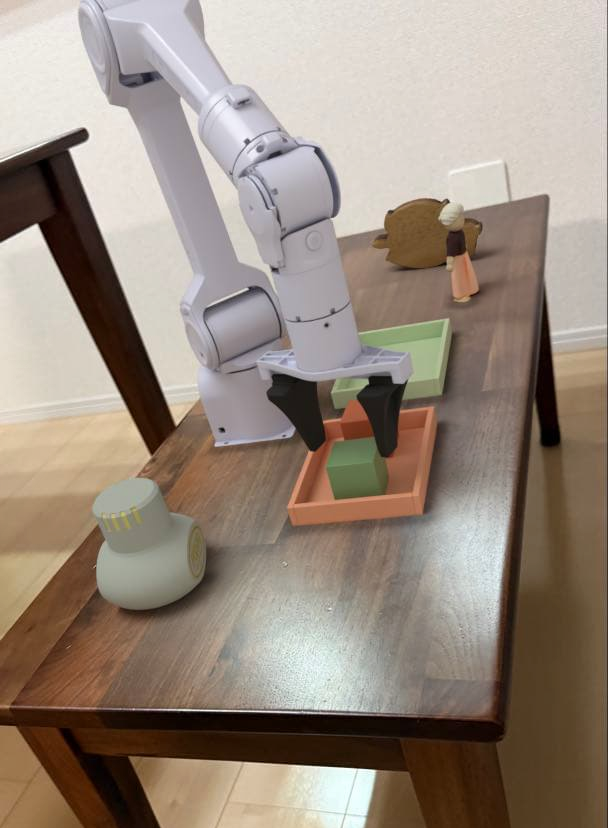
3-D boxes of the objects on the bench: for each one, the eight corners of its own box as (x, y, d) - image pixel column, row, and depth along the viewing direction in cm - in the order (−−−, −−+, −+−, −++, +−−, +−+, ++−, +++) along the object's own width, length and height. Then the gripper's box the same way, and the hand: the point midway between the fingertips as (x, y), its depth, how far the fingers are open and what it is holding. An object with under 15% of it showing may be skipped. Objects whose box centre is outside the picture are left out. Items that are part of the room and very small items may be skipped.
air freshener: (133, 558, 82) (93, 471, 76) (214, 542, 80) (179, 453, 75) (108, 633, 73) (61, 541, 67) (199, 617, 71) (158, 522, 66)
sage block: (336, 507, 79) (325, 466, 76) (344, 480, 82) (333, 441, 80) (383, 502, 77) (373, 461, 75) (389, 476, 81) (380, 435, 78)
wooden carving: (487, 250, 127) (478, 181, 121) (485, 260, 124) (476, 191, 118) (381, 268, 132) (367, 204, 127) (376, 279, 129) (362, 213, 123)
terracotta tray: (293, 530, 78) (286, 508, 77) (325, 441, 91) (319, 420, 89) (423, 519, 75) (418, 495, 73) (438, 428, 87) (434, 405, 86)
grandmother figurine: (478, 306, 110) (465, 208, 103) (449, 311, 111) (433, 214, 104) (480, 285, 116) (467, 191, 109) (452, 290, 117) (438, 197, 110)
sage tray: (335, 413, 96) (330, 392, 94) (357, 352, 108) (353, 333, 107) (442, 399, 92) (439, 377, 90) (452, 337, 104) (449, 317, 103)
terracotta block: (349, 461, 85) (339, 422, 82) (357, 438, 88) (347, 401, 86) (393, 457, 83) (384, 417, 81) (399, 434, 87) (391, 395, 84)
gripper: (416, 284, 68) (443, 430, 75) (272, 291, 76) (309, 422, 83) (376, 322, 64) (409, 473, 71) (227, 325, 72) (271, 460, 79)
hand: (352, 448), depth 77 cm, fingers open, 7 cm apart
